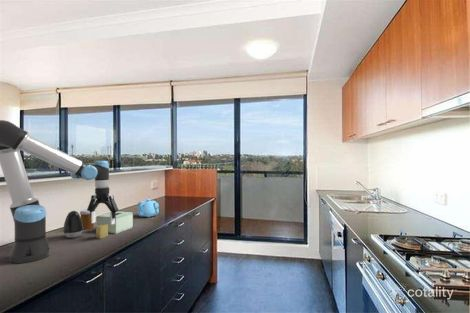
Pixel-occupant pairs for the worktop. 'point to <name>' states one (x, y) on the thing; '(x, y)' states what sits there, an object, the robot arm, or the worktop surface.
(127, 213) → the money box
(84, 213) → the disposable coffee cup
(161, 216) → the worktop surface
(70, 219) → the black dome on base
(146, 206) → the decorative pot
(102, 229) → the yellow block
